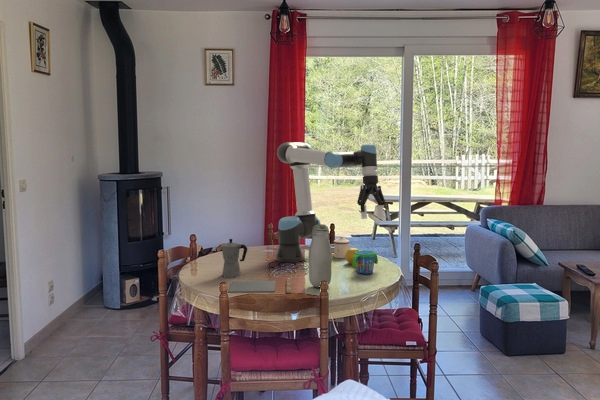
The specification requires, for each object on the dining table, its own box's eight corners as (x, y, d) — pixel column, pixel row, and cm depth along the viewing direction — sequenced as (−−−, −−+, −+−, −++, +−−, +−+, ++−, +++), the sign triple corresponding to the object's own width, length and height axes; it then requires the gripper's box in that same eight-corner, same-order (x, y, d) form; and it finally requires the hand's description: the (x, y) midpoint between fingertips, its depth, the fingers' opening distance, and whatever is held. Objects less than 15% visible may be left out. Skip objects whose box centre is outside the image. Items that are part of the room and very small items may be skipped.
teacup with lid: (348, 254, 282) (348, 234, 281) (351, 258, 273) (351, 237, 272) (327, 255, 281) (327, 235, 280) (329, 258, 272) (329, 238, 271)
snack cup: (370, 268, 250) (370, 248, 249) (384, 272, 241) (384, 252, 240) (345, 272, 242) (345, 252, 241) (359, 277, 233) (359, 255, 232)
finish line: (286, 281, 228) (286, 279, 228) (291, 280, 228) (291, 279, 228) (286, 293, 208) (286, 292, 208) (291, 293, 208) (291, 292, 208)
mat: (232, 282, 226) (232, 281, 226) (276, 281, 227) (276, 280, 227) (228, 292, 211) (228, 291, 210) (274, 291, 211) (274, 290, 211)
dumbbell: (373, 270, 246) (373, 254, 245) (356, 272, 244) (356, 255, 243) (359, 262, 264) (359, 247, 263) (343, 263, 262) (343, 248, 261)
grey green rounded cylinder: (315, 291, 211) (315, 227, 208) (305, 285, 221) (305, 223, 218) (335, 288, 215) (335, 225, 212) (325, 282, 225) (325, 222, 222)
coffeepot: (214, 276, 237) (213, 239, 235) (224, 271, 246) (223, 236, 244) (243, 279, 231) (242, 241, 229) (252, 274, 240) (251, 238, 238)
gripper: (360, 173, 232) (363, 218, 230) (390, 176, 250) (393, 217, 248) (348, 175, 237) (350, 219, 236) (378, 177, 255) (381, 218, 253)
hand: (372, 218), depth 242 cm, fingers open, 13 cm apart
